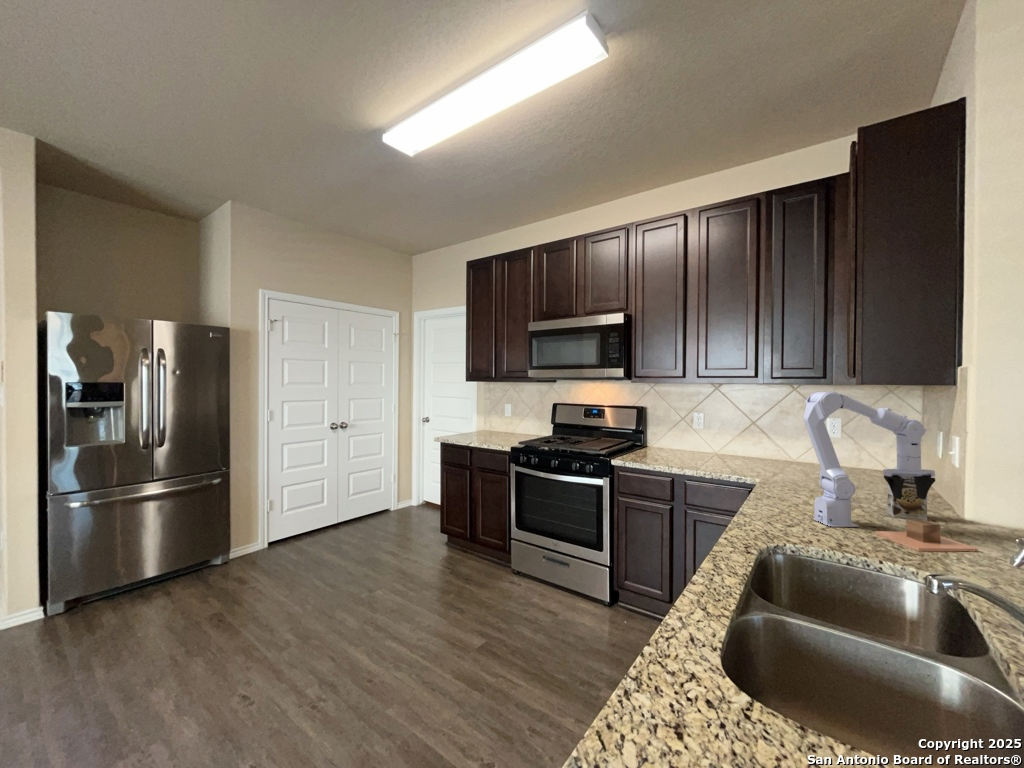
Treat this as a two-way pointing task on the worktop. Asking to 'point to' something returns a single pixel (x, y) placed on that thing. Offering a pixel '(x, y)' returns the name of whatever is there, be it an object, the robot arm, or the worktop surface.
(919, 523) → the walnut cube
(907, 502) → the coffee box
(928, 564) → the worktop surface
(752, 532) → the worktop surface
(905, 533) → the terracotta tile
